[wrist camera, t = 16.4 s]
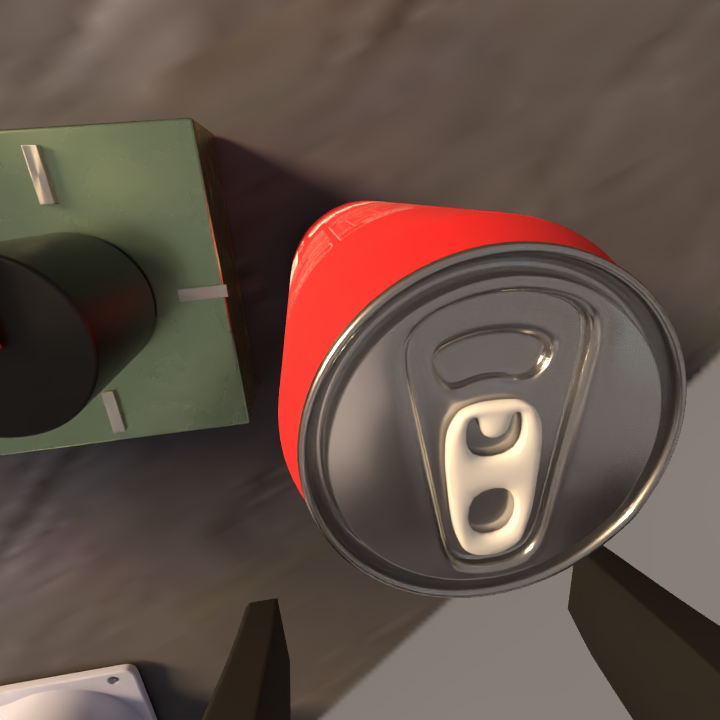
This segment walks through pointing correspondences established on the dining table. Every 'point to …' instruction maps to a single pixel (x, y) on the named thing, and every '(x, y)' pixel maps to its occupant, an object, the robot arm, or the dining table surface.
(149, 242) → the panel
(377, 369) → the beverage can
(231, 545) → the dining table surface
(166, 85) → the dining table surface
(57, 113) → the dining table surface
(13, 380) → the oven knob
